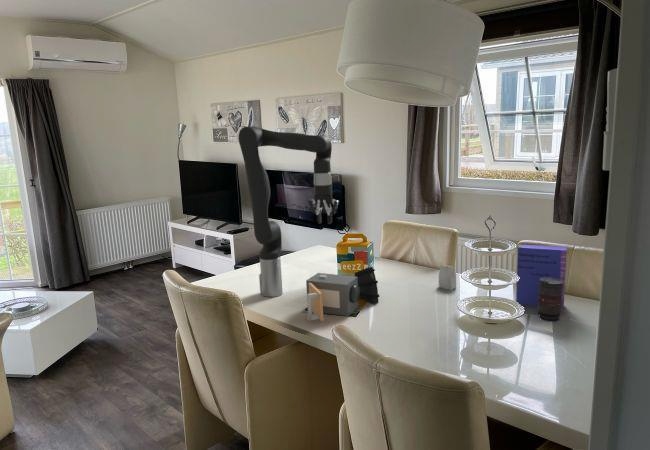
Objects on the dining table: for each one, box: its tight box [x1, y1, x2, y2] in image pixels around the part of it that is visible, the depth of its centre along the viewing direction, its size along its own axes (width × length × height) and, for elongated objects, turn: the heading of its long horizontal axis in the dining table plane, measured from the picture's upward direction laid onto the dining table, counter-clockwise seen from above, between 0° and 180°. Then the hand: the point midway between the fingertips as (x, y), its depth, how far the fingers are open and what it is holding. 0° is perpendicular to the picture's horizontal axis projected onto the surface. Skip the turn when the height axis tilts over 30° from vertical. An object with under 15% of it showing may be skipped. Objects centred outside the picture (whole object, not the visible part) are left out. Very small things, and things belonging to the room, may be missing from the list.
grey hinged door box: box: [305, 272, 360, 317], centre depth 208 cm, size 20×11×14 cm, turn 65°
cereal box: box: [515, 244, 568, 310], centre depth 202 cm, size 17×5×24 cm, turn 65°
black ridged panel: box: [353, 266, 380, 305], centre depth 218 cm, size 4×13×15 cm, turn 31°
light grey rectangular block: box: [438, 264, 457, 291], centre depth 229 cm, size 4×7×10 cm, turn 41°
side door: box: [306, 282, 324, 322], centre depth 199 cm, size 15×5×11 cm, turn 19°
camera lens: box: [537, 277, 563, 323], centre depth 189 cm, size 8×8×15 cm
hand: (324, 223), depth 217 cm, fingers open, 4 cm apart
